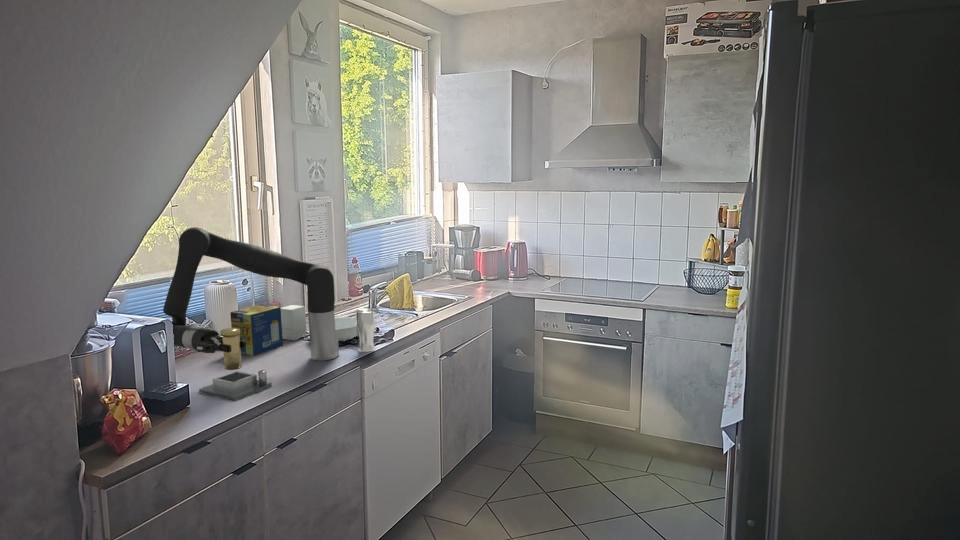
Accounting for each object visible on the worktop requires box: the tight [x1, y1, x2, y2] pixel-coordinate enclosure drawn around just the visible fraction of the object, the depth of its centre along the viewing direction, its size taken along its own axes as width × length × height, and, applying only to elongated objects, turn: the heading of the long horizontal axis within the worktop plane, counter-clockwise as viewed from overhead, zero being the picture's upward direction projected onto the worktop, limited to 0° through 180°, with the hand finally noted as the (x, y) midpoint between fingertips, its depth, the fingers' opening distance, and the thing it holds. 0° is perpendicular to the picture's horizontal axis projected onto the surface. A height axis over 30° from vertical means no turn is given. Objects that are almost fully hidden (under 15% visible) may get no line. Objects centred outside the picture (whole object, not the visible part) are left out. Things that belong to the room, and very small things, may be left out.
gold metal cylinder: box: [220, 327, 243, 371], centre depth 197 cm, size 6×6×12 cm
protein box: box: [229, 303, 284, 357], centre depth 242 cm, size 10×15×16 cm
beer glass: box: [355, 308, 376, 353], centre depth 238 cm, size 7×7×15 cm
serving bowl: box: [335, 316, 358, 342], centre depth 255 cm, size 21×21×7 cm
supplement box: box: [281, 304, 308, 341], centre depth 258 cm, size 7×7×13 cm
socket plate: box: [198, 369, 272, 402], centre depth 199 cm, size 14×16×5 cm
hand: (237, 346), depth 196 cm, fingers closed on gold metal cylinder, 5 cm apart
